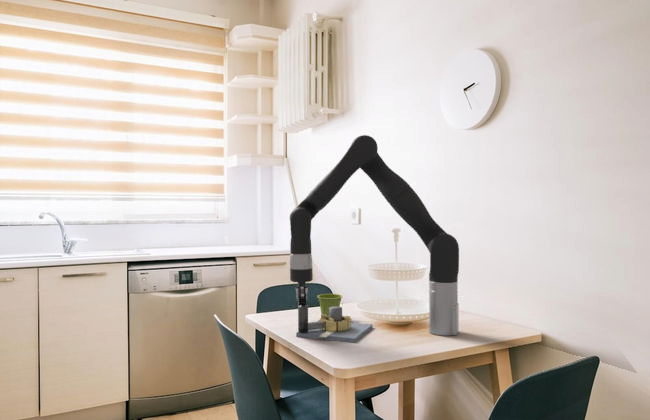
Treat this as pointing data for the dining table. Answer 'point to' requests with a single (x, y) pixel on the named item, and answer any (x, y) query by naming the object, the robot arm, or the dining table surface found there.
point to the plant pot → (328, 302)
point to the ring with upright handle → (321, 322)
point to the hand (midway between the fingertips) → (302, 318)
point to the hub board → (347, 335)
